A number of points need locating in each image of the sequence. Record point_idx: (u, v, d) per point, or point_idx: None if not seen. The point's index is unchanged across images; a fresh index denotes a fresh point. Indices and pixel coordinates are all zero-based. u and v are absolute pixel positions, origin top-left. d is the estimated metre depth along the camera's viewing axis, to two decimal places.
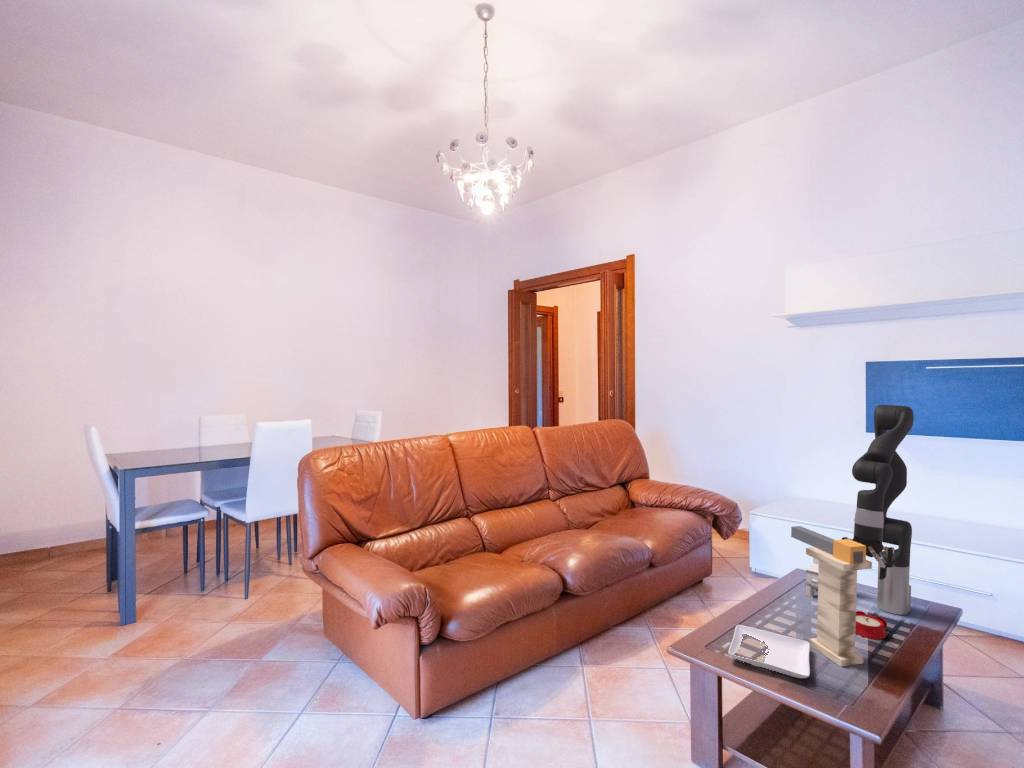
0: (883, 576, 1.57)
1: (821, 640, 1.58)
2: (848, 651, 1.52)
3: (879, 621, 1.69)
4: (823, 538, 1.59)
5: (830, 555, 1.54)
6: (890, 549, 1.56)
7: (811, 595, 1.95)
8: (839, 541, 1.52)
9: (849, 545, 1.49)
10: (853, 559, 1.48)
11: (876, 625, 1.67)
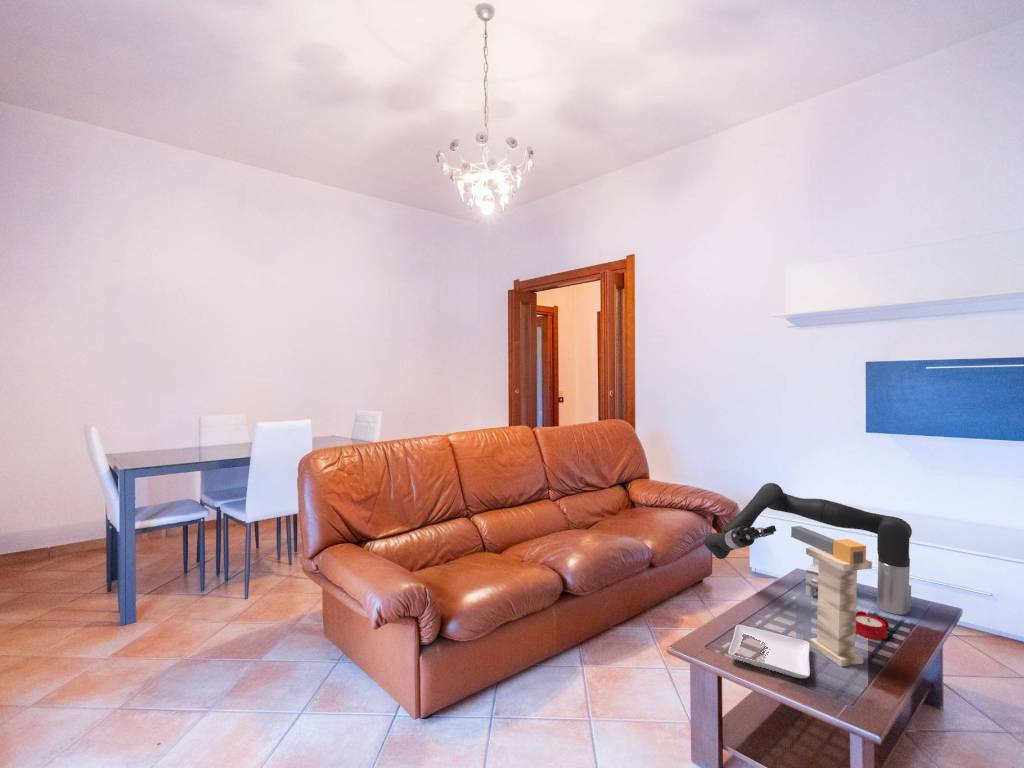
0: (751, 532, 1.86)
1: (821, 640, 1.58)
2: (848, 651, 1.52)
3: (881, 621, 1.69)
4: (823, 538, 1.59)
5: (830, 555, 1.54)
6: (735, 539, 1.93)
7: (811, 595, 1.95)
8: (839, 541, 1.52)
9: (849, 545, 1.49)
10: (853, 559, 1.48)
11: (878, 625, 1.67)
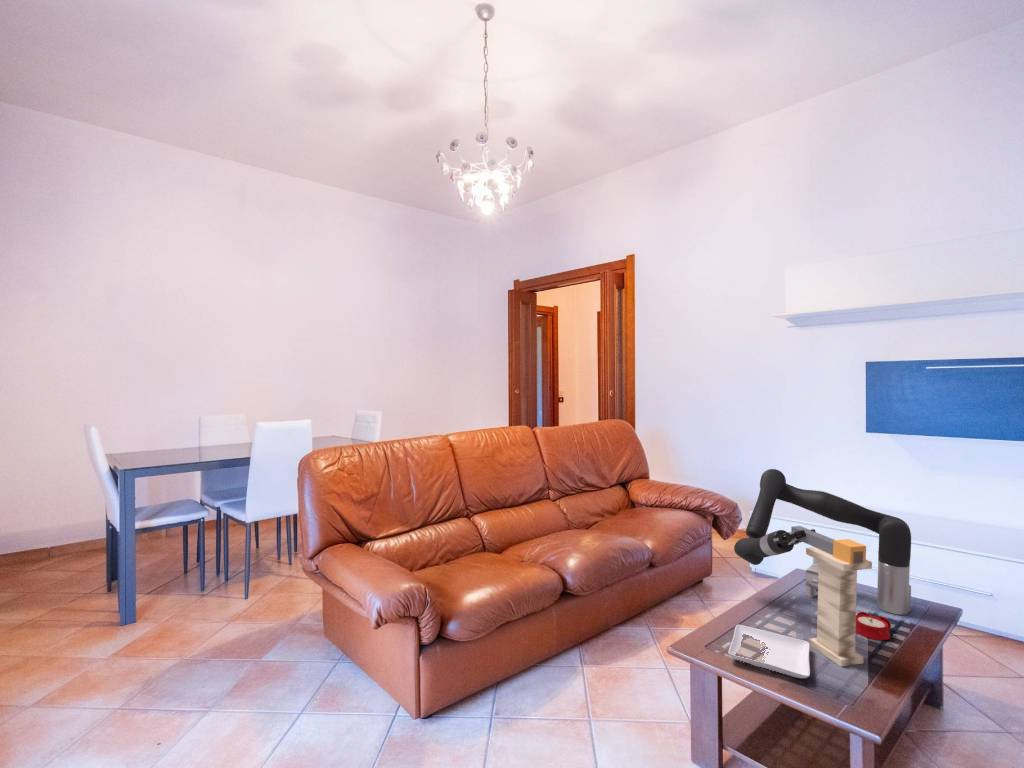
0: (801, 536, 1.66)
1: (821, 640, 1.58)
2: (848, 651, 1.52)
3: (883, 622, 1.69)
4: (823, 538, 1.59)
5: (830, 555, 1.54)
6: (776, 543, 1.72)
7: (811, 595, 1.95)
8: (839, 541, 1.52)
9: (849, 545, 1.49)
10: (853, 559, 1.48)
11: (881, 626, 1.66)
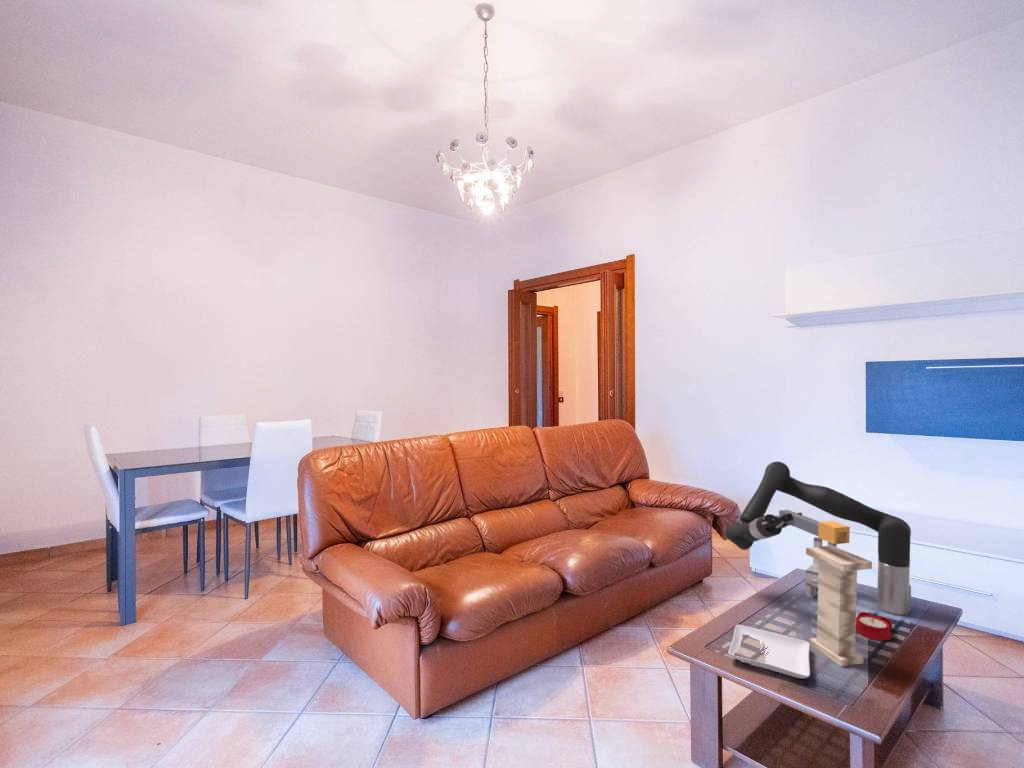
0: (788, 519, 1.71)
1: (821, 640, 1.58)
2: (848, 651, 1.52)
3: (884, 622, 1.69)
4: (809, 520, 1.65)
5: (830, 555, 1.54)
6: (764, 527, 1.77)
7: (811, 595, 1.95)
8: (824, 523, 1.58)
9: (833, 526, 1.54)
10: (837, 539, 1.53)
11: (883, 626, 1.66)
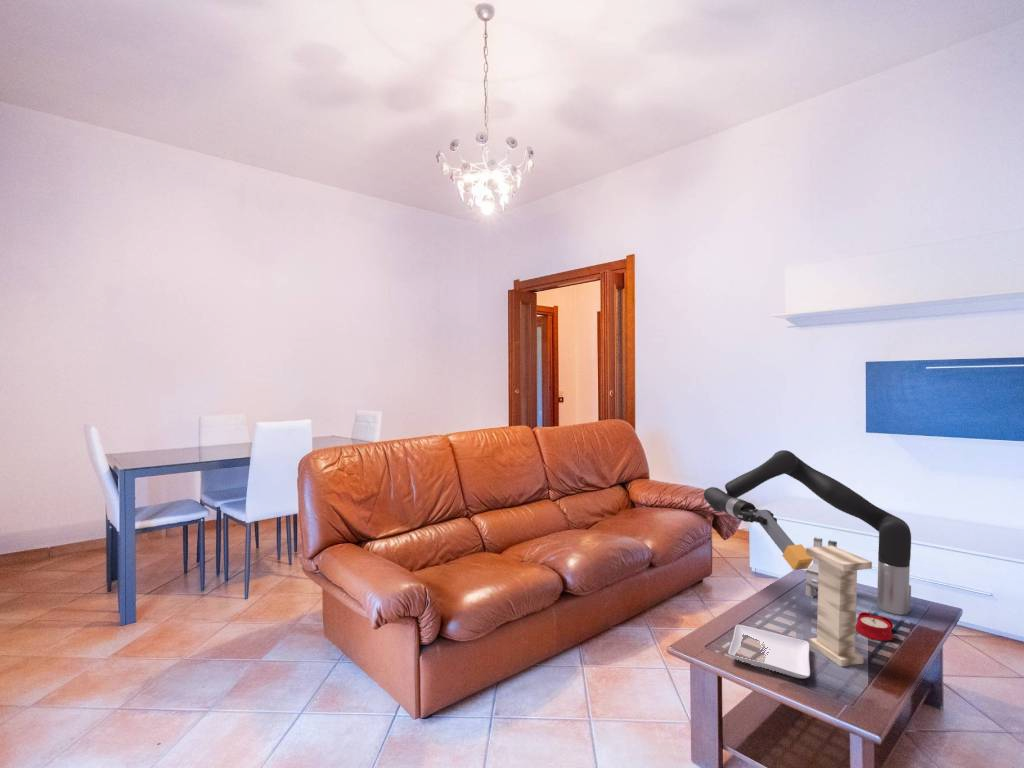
0: None
1: (821, 640, 1.58)
2: (848, 651, 1.52)
3: (885, 622, 1.69)
4: (780, 535, 1.77)
5: (830, 555, 1.54)
6: None
7: (811, 595, 1.95)
8: (792, 548, 1.71)
9: (799, 556, 1.68)
10: (797, 567, 1.69)
11: (884, 626, 1.66)
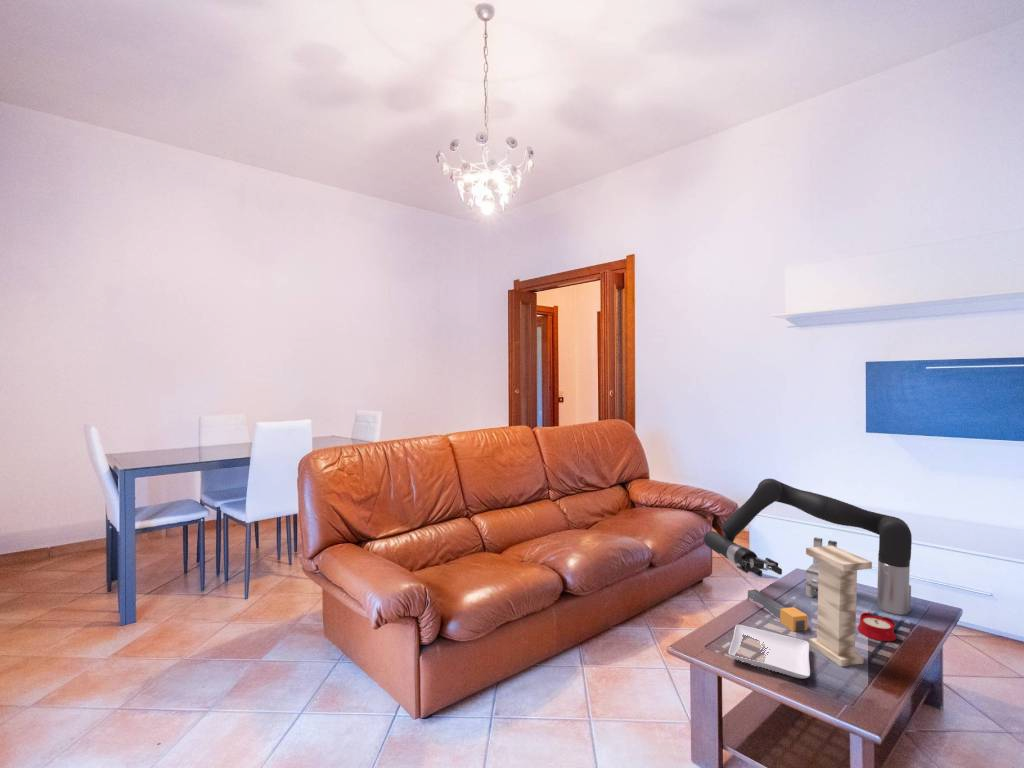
0: None
1: (821, 640, 1.58)
2: (848, 651, 1.52)
3: (888, 622, 1.68)
4: (773, 604, 1.81)
5: (830, 555, 1.54)
6: None
7: (811, 595, 1.95)
8: (785, 610, 1.74)
9: (792, 615, 1.71)
10: (795, 627, 1.70)
11: (887, 627, 1.66)
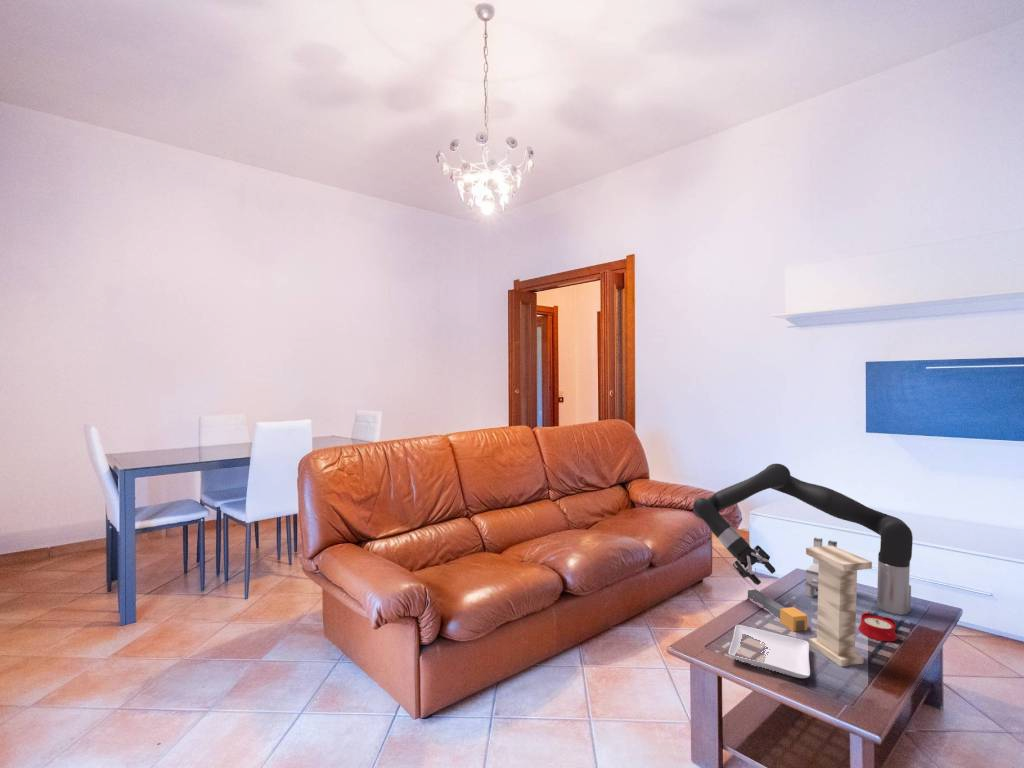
0: None
1: (821, 640, 1.58)
2: (848, 651, 1.52)
3: (889, 622, 1.68)
4: (773, 604, 1.81)
5: (830, 555, 1.54)
6: None
7: (811, 595, 1.95)
8: (785, 610, 1.74)
9: (792, 614, 1.71)
10: (795, 627, 1.70)
11: (888, 627, 1.66)
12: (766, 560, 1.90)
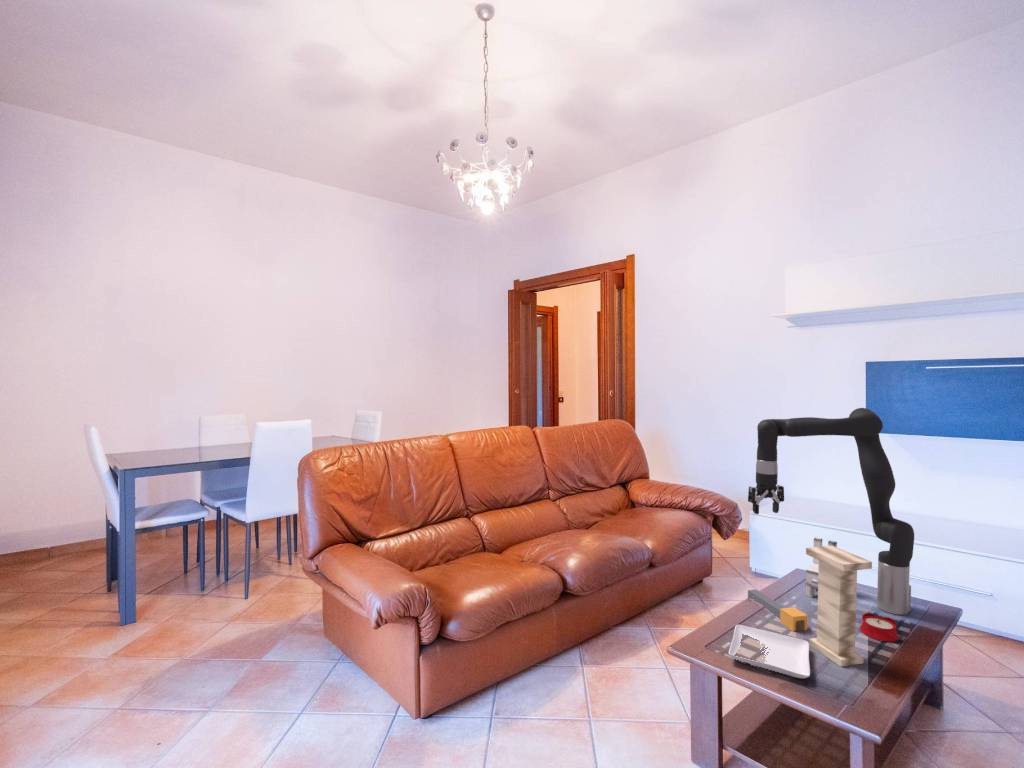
0: None
1: (821, 640, 1.58)
2: (848, 651, 1.52)
3: (890, 622, 1.68)
4: (773, 604, 1.81)
5: (830, 555, 1.54)
6: None
7: (811, 595, 1.95)
8: (785, 610, 1.74)
9: (792, 614, 1.71)
10: (795, 627, 1.70)
11: (889, 627, 1.65)
12: (778, 501, 1.95)
